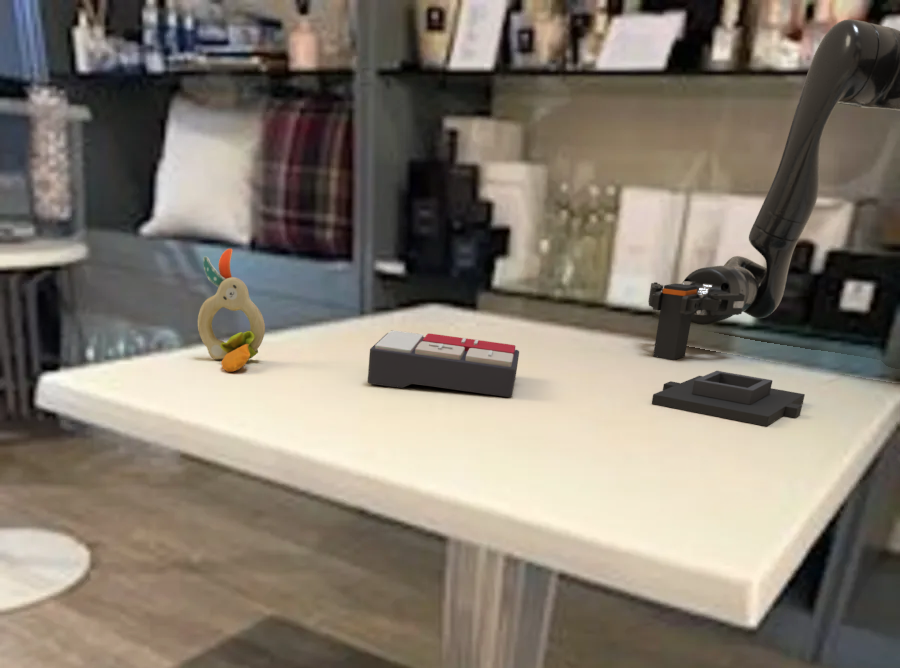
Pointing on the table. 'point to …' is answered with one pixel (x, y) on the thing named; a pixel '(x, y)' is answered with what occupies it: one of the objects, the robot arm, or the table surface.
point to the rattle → (232, 298)
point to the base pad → (731, 398)
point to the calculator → (443, 363)
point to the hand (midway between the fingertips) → (670, 303)
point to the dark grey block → (673, 323)
